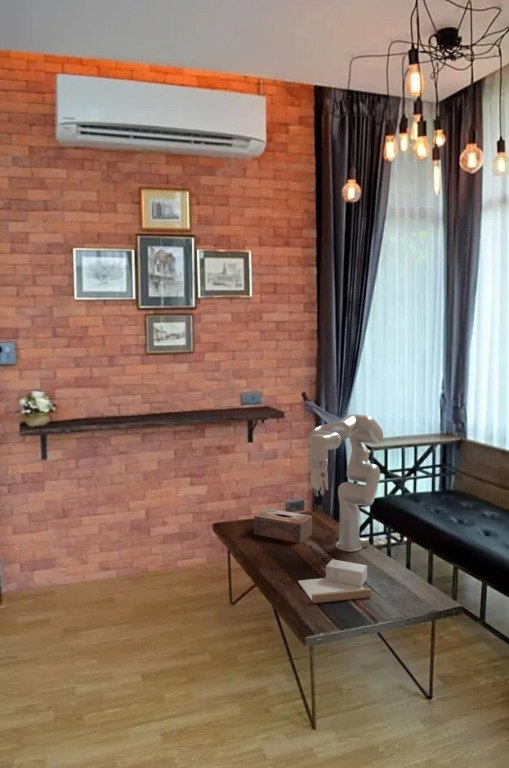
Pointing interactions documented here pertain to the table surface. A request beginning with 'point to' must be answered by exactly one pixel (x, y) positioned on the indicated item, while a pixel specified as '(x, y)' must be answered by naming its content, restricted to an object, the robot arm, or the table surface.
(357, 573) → the skincare box
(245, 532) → the table surface
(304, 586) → the white flat piece
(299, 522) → the tissue box cover
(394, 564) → the table surface
